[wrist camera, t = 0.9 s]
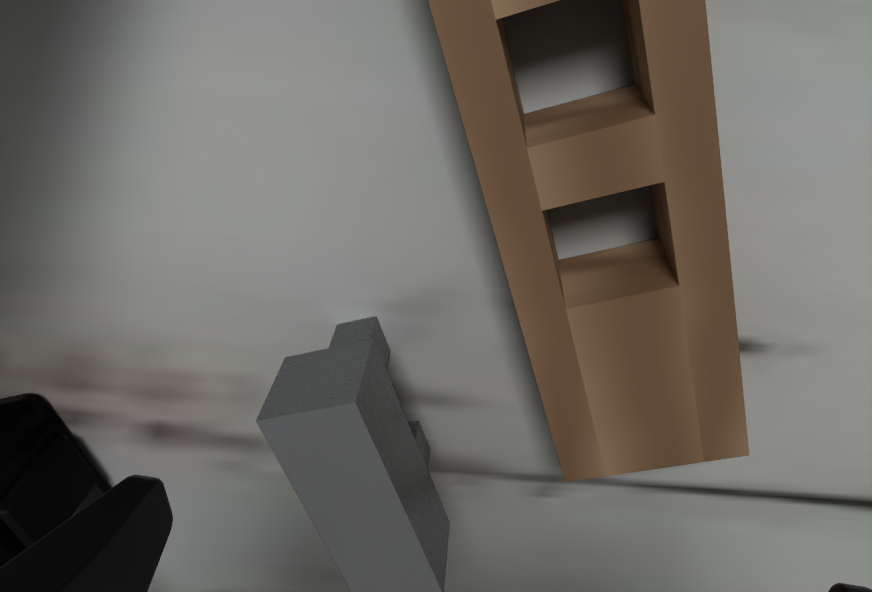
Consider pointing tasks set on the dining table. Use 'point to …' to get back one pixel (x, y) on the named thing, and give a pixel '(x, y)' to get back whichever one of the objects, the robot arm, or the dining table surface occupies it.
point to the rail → (622, 266)
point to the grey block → (359, 463)
